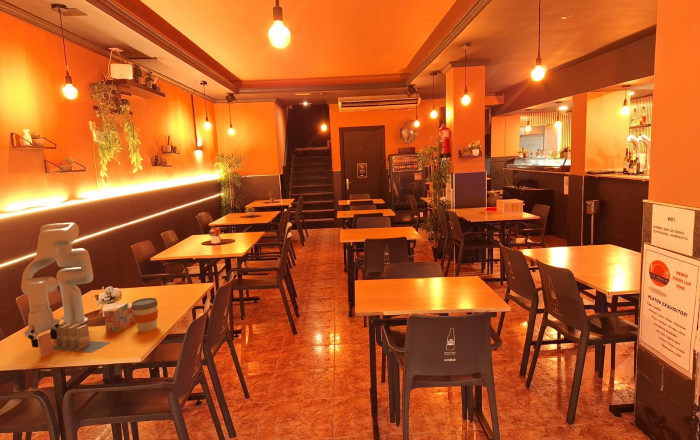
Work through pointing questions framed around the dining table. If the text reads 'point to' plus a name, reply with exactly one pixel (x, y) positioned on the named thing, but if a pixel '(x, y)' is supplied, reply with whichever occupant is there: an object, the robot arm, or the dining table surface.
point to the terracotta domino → (45, 344)
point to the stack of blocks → (118, 317)
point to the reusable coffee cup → (145, 314)
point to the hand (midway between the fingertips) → (45, 343)
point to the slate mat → (90, 348)
